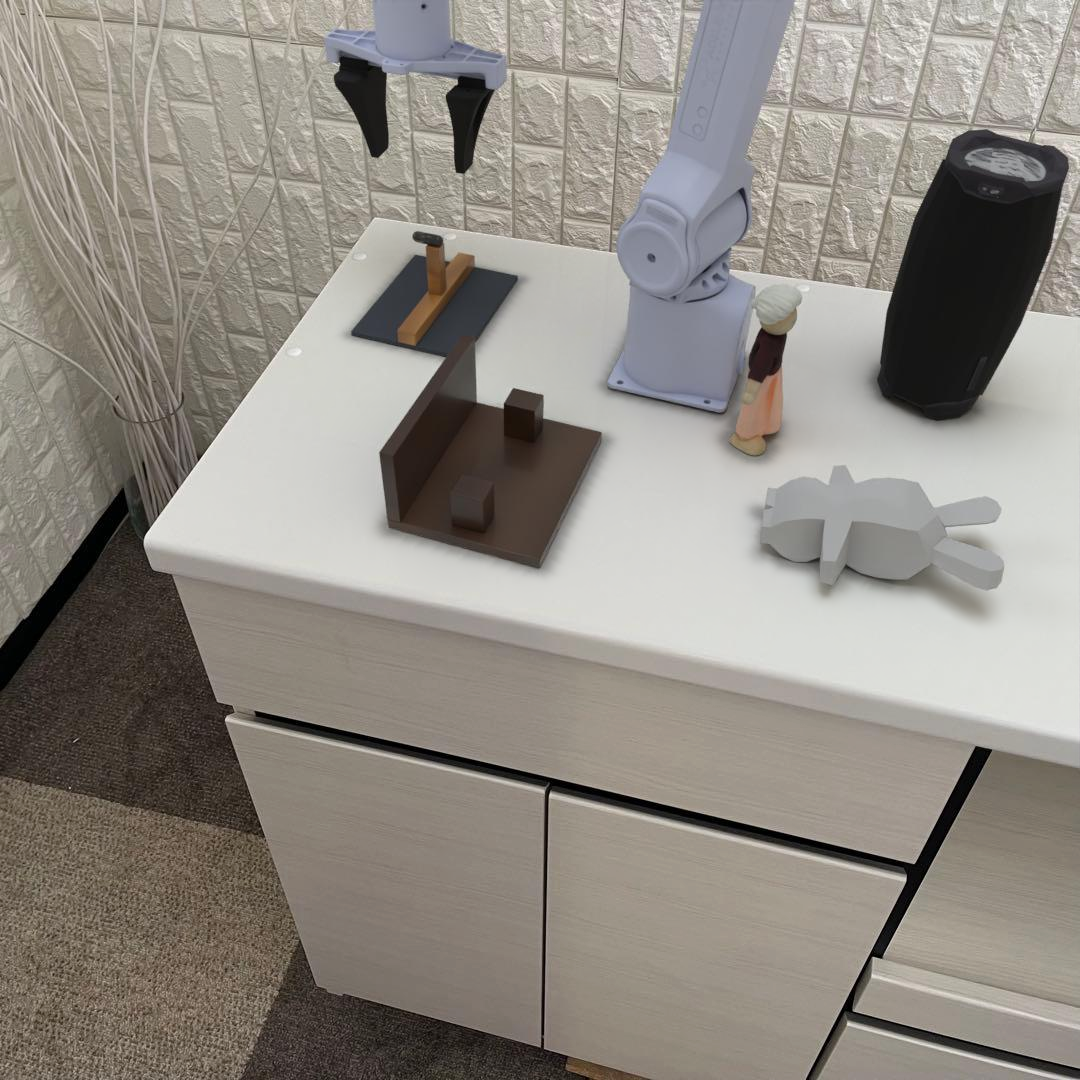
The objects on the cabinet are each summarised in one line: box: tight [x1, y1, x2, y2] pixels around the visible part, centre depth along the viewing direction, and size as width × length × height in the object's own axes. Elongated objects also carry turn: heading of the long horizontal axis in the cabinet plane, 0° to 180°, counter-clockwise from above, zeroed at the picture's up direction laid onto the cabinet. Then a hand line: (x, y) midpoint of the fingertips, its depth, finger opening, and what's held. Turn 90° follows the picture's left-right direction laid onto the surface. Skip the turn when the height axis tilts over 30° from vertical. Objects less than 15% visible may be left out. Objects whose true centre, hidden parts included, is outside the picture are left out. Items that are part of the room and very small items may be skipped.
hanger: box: [397, 230, 476, 346], centre depth 89 cm, size 3×13×6 cm, turn 160°
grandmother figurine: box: [729, 283, 803, 456], centre depth 76 cm, size 8×4×13 cm, turn 168°
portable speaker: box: [876, 128, 1070, 421], centre depth 77 cm, size 9×9×20 cm
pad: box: [350, 254, 519, 358], centre depth 91 cm, size 10×13×1 cm
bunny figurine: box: [759, 464, 1005, 591], centre depth 70 cm, size 10×5×15 cm
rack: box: [378, 334, 603, 569], centre depth 73 cm, size 11×14×7 cm
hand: (421, 160), depth 88 cm, fingers open, 7 cm apart
